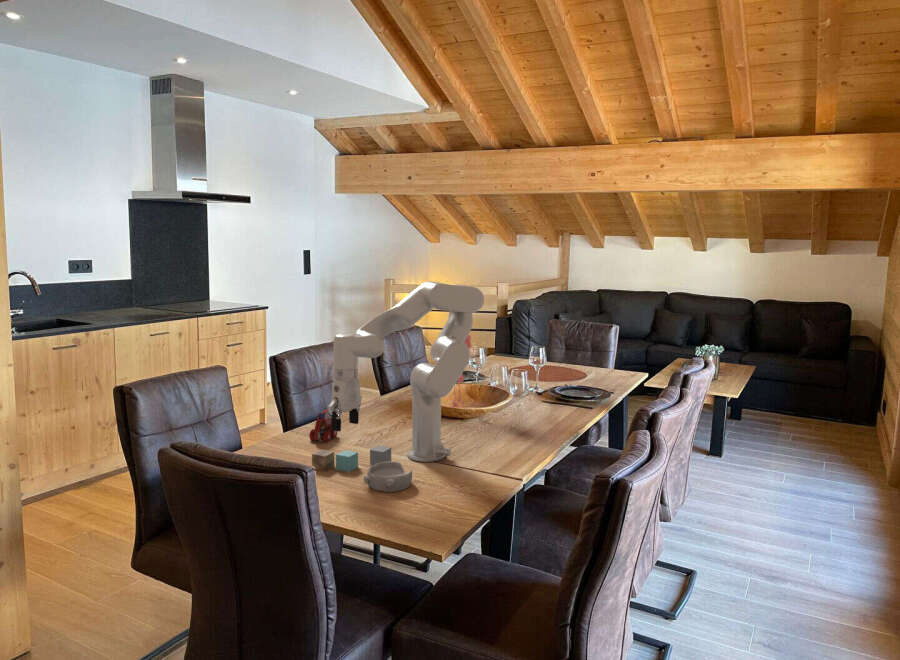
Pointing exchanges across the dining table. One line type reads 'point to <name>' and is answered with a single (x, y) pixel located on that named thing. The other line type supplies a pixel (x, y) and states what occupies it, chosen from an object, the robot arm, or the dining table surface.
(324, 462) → the walnut block
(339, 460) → the teal block
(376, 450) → the slate grey block
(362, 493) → the dining table surface
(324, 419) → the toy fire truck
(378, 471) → the dish
